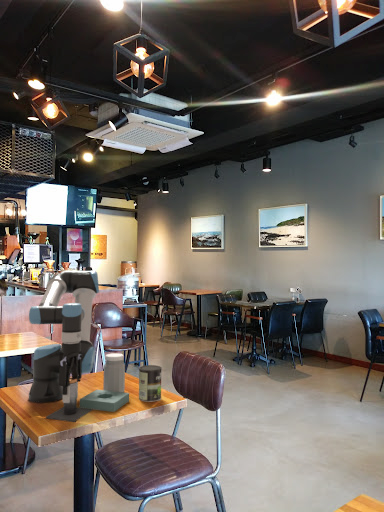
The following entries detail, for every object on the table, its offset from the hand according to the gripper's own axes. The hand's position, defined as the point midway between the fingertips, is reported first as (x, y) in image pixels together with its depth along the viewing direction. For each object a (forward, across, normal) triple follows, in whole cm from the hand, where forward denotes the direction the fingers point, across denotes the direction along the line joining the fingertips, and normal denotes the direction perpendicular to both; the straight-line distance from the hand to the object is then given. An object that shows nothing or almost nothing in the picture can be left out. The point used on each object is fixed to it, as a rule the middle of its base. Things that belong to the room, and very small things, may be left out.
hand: (70, 400), depth 163 cm
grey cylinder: (+5, 0, 0) cm, 5 cm away
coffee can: (+6, +28, -23) cm, 37 cm away
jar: (+6, +30, -4) cm, 31 cm away
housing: (+6, +14, -8) cm, 17 cm away
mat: (+6, 0, 0) cm, 6 cm away
